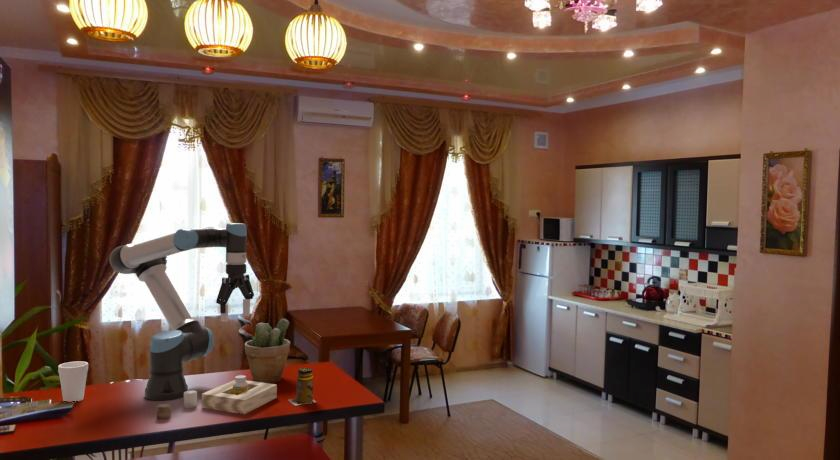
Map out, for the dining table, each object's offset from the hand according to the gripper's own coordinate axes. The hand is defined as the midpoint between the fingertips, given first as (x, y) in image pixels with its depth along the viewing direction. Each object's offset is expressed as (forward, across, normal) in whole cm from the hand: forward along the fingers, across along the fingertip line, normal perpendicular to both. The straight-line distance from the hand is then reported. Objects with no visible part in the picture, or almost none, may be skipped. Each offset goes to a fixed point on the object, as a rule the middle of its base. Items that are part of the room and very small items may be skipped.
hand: (235, 318), depth 232 cm
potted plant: (+29, +20, -1) cm, 35 cm away
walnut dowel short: (+29, -32, +5) cm, 43 cm away
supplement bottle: (+29, -9, -9) cm, 32 cm away
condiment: (+29, +1, -29) cm, 41 cm away
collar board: (+29, -9, -9) cm, 31 cm away
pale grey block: (+29, -19, +5) cm, 35 cm away
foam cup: (+29, -30, +48) cm, 64 cm away
